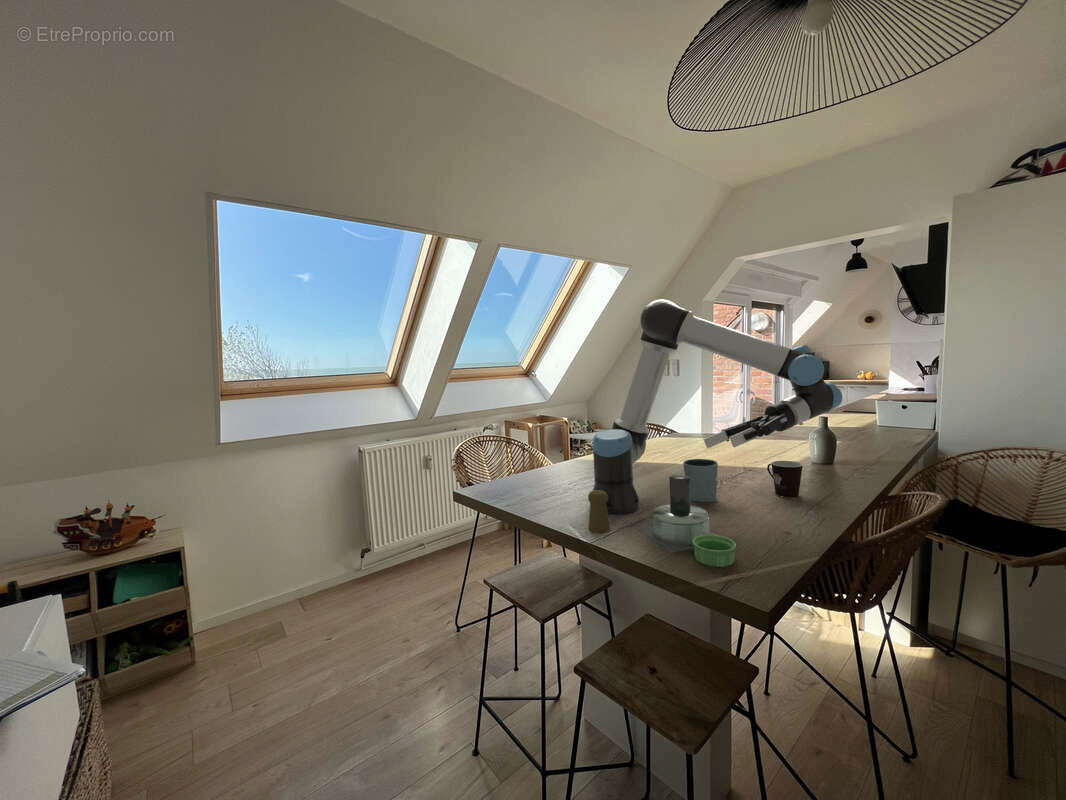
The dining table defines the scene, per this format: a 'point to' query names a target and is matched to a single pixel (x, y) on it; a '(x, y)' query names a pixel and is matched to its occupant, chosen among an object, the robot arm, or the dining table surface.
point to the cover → (680, 516)
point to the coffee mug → (786, 477)
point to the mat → (670, 547)
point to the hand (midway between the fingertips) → (718, 443)
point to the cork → (598, 512)
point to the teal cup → (702, 479)
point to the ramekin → (714, 550)
